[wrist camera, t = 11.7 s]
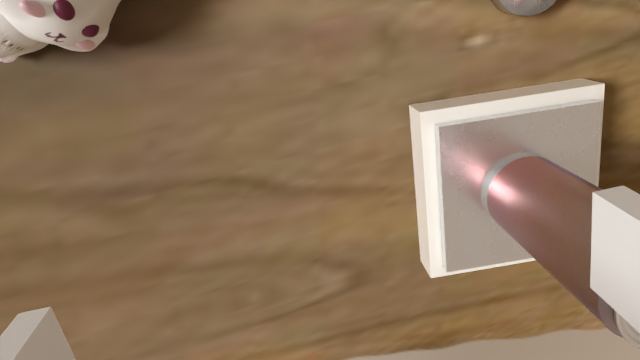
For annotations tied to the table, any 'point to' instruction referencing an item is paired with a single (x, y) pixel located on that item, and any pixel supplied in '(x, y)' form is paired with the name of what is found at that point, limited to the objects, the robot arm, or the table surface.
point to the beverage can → (554, 228)
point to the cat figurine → (53, 25)
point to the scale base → (465, 108)
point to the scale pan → (492, 155)
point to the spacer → (523, 6)
